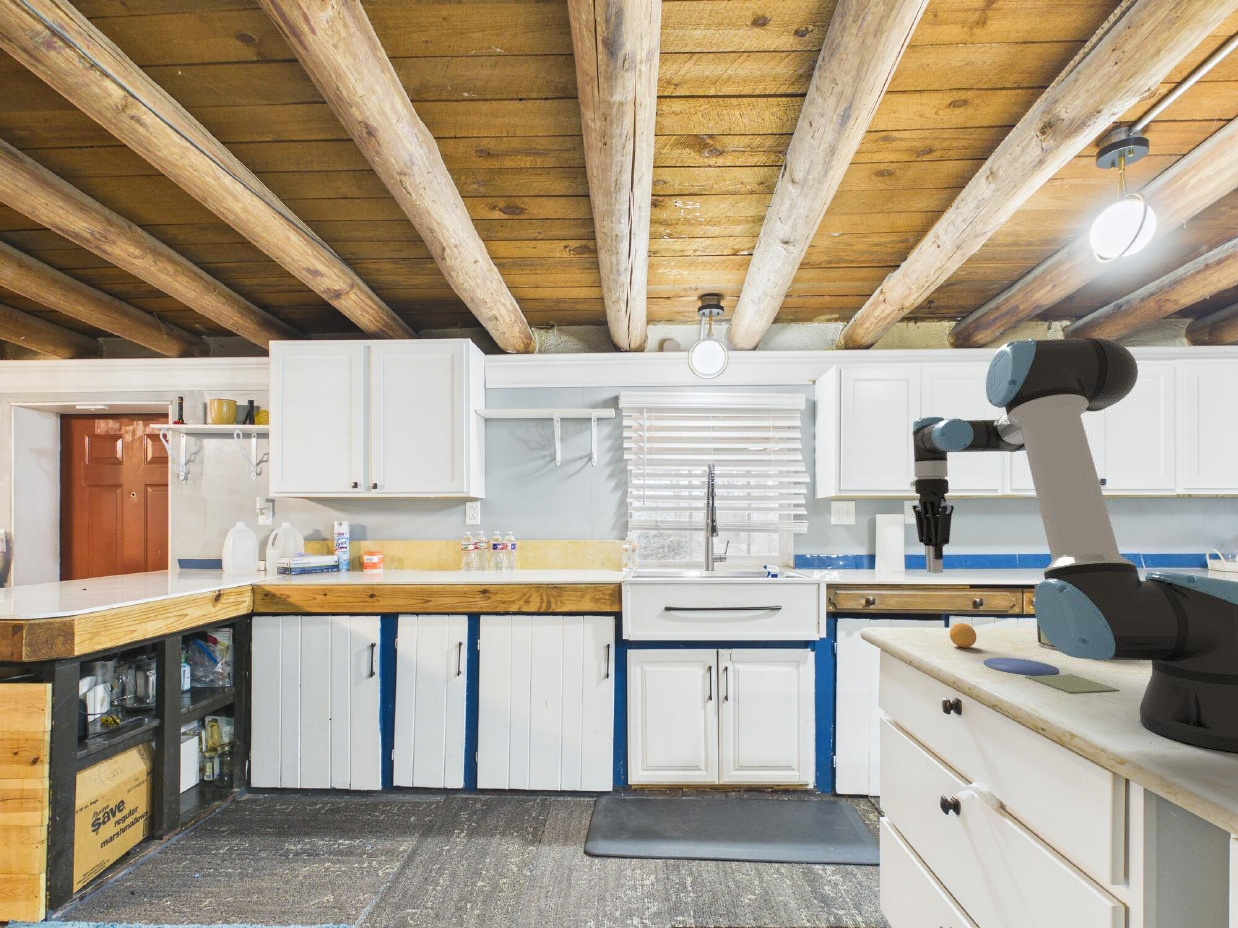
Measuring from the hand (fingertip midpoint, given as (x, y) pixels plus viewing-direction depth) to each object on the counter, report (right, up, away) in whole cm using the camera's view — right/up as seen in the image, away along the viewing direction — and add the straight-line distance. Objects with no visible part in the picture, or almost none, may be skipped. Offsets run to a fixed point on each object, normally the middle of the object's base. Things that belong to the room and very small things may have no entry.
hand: (934, 572), depth 153 cm
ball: (+1, -13, -10) cm, 17 cm away
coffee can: (+25, -16, -10) cm, 31 cm away
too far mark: (+5, -14, -39) cm, 42 cm away
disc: (+4, -15, -27) cm, 31 cm away
